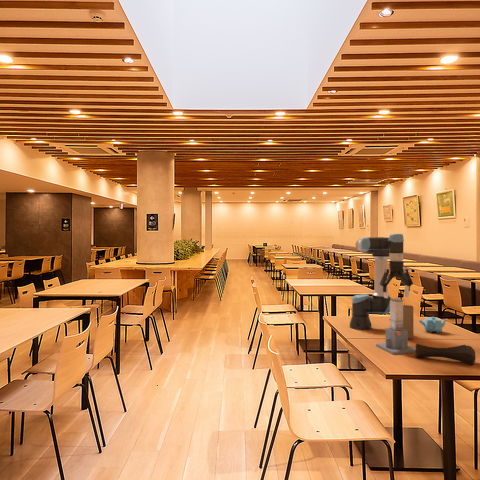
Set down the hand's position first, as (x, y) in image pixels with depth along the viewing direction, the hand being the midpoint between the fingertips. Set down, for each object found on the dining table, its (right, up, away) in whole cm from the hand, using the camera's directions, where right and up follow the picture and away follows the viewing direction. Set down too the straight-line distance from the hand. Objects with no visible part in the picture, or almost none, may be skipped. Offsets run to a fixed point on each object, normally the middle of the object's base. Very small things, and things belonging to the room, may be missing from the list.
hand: (396, 297), depth 213 cm
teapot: (+42, -30, +41) cm, 66 cm away
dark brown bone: (+17, -30, -20) cm, 40 cm away
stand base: (0, -30, 0) cm, 30 cm away
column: (0, -28, 0) cm, 28 cm away
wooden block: (+17, -30, +27) cm, 44 cm away
